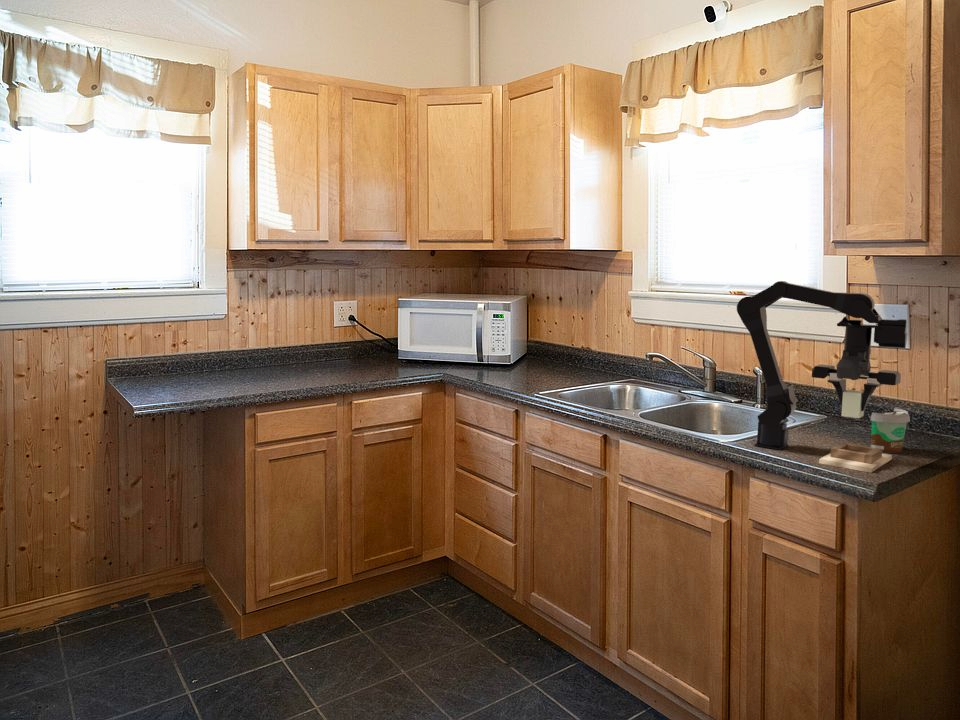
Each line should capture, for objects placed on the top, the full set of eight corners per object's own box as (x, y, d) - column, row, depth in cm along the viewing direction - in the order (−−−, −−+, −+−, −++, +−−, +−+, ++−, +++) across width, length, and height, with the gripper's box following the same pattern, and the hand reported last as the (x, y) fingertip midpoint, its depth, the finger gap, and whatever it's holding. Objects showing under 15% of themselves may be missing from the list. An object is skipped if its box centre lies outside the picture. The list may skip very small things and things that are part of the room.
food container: (892, 456, 192) (895, 416, 191) (867, 451, 197) (870, 412, 196) (916, 450, 199) (920, 411, 198) (891, 445, 204) (895, 407, 203)
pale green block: (841, 416, 189) (843, 391, 189) (845, 413, 192) (847, 389, 192) (859, 418, 187) (860, 393, 186) (863, 415, 190) (865, 391, 189)
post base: (818, 463, 184) (819, 450, 184) (841, 450, 197) (842, 439, 197) (871, 472, 177) (872, 459, 176) (891, 459, 189) (892, 447, 189)
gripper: (806, 345, 187) (802, 409, 189) (892, 351, 175) (887, 420, 177) (820, 342, 196) (816, 403, 198) (903, 347, 184) (898, 413, 186)
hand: (852, 409), depth 189 cm, fingers closed on pale green block, 4 cm apart
